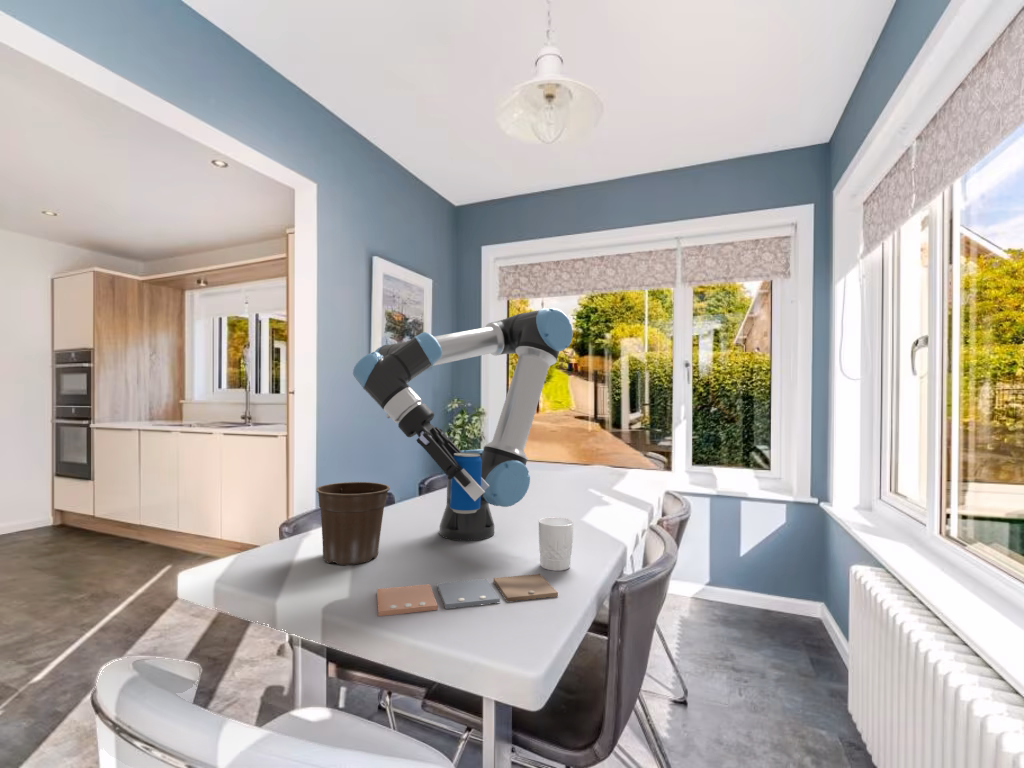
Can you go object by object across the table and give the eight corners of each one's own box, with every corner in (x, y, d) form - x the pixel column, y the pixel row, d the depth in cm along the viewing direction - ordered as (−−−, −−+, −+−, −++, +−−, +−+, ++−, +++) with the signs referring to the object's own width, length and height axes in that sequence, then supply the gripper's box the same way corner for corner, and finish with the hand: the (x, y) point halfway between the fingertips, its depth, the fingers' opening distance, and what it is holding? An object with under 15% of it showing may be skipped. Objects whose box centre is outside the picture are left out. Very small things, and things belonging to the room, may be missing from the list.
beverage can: (446, 508, 105) (448, 452, 105) (475, 506, 107) (477, 452, 107) (453, 515, 99) (455, 456, 99) (483, 513, 101) (485, 455, 101)
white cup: (550, 557, 115) (551, 515, 115) (579, 565, 110) (580, 521, 110) (530, 566, 109) (531, 521, 109) (560, 574, 104) (560, 527, 104)
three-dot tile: (376, 593, 92) (376, 587, 92) (429, 588, 95) (429, 583, 95) (378, 616, 83) (378, 610, 83) (437, 609, 86) (437, 604, 86)
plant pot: (373, 542, 124) (375, 479, 124) (398, 560, 111) (400, 489, 111) (306, 553, 114) (308, 484, 115) (325, 574, 101) (327, 496, 102)
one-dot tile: (493, 582, 99) (493, 577, 99) (539, 577, 102) (539, 572, 102) (507, 602, 89) (507, 596, 89) (557, 596, 92) (557, 591, 92)
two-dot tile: (437, 587, 96) (437, 582, 96) (486, 582, 99) (486, 577, 99) (445, 608, 86) (445, 603, 86) (499, 603, 89) (499, 597, 89)
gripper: (410, 423, 114) (476, 496, 112) (381, 427, 95) (460, 515, 93) (433, 401, 114) (500, 474, 112) (409, 401, 95) (489, 489, 93)
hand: (482, 493), depth 103 cm, fingers closed on beverage can, 6 cm apart
